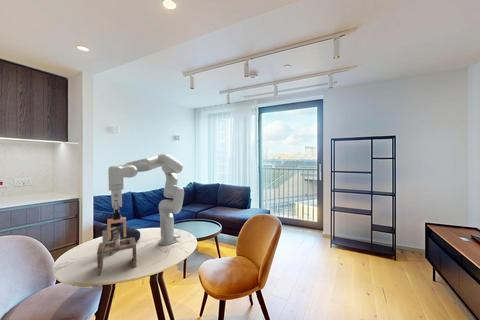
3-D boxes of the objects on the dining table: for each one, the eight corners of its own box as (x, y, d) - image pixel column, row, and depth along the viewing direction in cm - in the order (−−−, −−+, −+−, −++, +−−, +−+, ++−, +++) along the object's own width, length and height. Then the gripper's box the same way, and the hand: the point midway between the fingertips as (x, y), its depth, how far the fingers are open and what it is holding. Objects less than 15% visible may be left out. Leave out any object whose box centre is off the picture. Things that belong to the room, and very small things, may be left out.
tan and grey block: (126, 234, 132) (125, 210, 132) (126, 236, 129) (125, 211, 129) (108, 237, 128) (107, 212, 128) (107, 239, 125) (107, 214, 124)
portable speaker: (143, 241, 166) (142, 228, 166) (130, 246, 157) (130, 232, 157) (123, 235, 179) (123, 223, 179) (111, 239, 170) (111, 226, 170)
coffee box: (110, 255, 142) (110, 231, 142) (102, 255, 144) (101, 230, 143) (121, 249, 151) (120, 226, 151) (112, 249, 152) (112, 226, 152)
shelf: (135, 257, 140) (134, 235, 139) (136, 267, 127) (136, 243, 127) (100, 264, 131) (99, 241, 130) (97, 275, 118) (97, 250, 118)
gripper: (123, 188, 122) (124, 221, 123) (123, 185, 137) (124, 214, 137) (107, 189, 119) (108, 223, 119) (109, 186, 133) (110, 216, 134)
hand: (116, 218), depth 128 cm, fingers closed on tan and grey block, 3 cm apart
